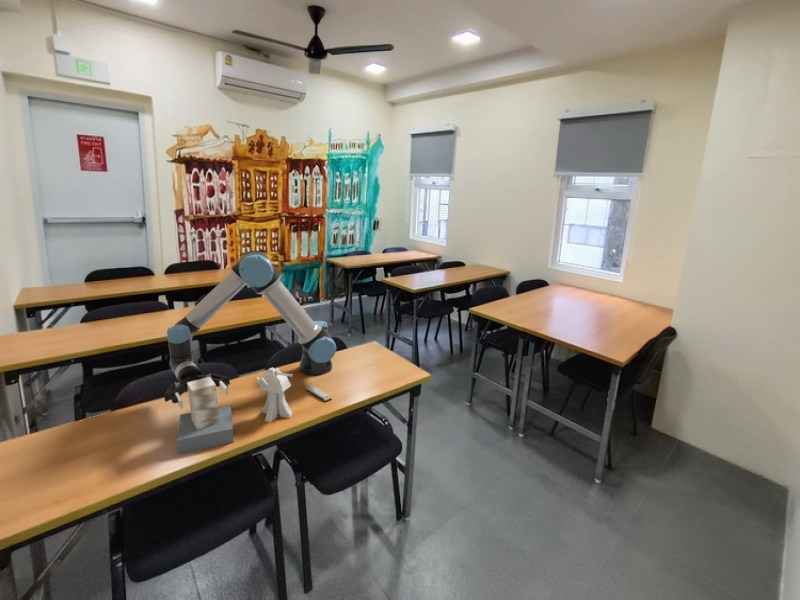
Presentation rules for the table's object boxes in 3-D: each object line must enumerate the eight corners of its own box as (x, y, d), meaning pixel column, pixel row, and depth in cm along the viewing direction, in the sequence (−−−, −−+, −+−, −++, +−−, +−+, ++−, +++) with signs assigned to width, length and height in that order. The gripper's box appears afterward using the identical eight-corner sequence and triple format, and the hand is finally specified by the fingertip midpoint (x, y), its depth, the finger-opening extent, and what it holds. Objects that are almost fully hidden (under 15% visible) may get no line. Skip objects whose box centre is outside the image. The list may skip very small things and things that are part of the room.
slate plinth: (231, 417, 143) (230, 405, 142) (233, 442, 129) (232, 428, 128) (182, 427, 136) (180, 414, 135) (178, 454, 122) (176, 440, 121)
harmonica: (331, 400, 157) (331, 396, 156) (325, 403, 155) (325, 399, 154) (311, 388, 167) (311, 384, 166) (305, 390, 165) (304, 386, 164)
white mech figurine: (285, 425, 139) (282, 379, 134) (253, 419, 142) (249, 373, 138) (302, 409, 150) (300, 365, 145) (272, 403, 153) (269, 360, 149)
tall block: (213, 413, 136) (209, 376, 133) (219, 422, 131) (215, 384, 127) (191, 420, 132) (186, 382, 128) (197, 429, 127) (192, 390, 123)
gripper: (225, 375, 151) (244, 396, 135) (150, 394, 135) (162, 421, 120) (223, 357, 149) (242, 376, 133) (147, 374, 134) (159, 399, 118)
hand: (204, 398), depth 127 cm, fingers open, 13 cm apart
